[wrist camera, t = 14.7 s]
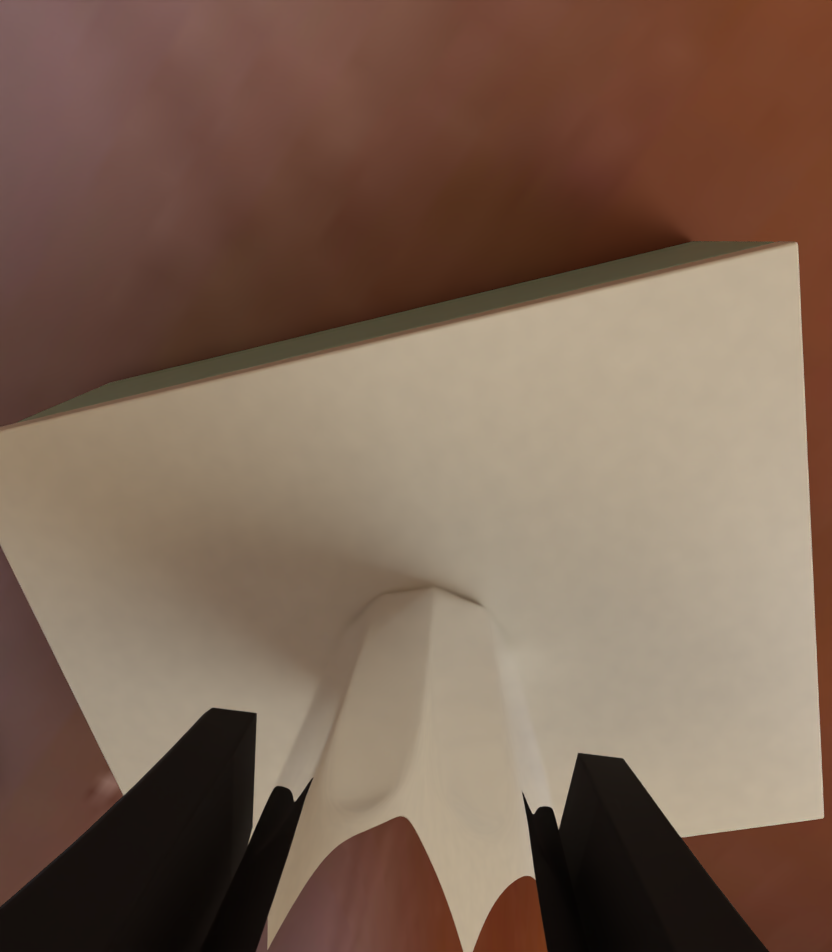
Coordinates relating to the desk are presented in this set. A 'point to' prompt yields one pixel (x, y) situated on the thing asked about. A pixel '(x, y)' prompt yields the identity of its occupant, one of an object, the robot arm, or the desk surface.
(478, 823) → the milkshake
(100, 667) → the lunchbox lid
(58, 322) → the desk surface
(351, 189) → the desk surface
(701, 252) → the lunchbox
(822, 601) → the desk surface
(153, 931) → the robot arm
